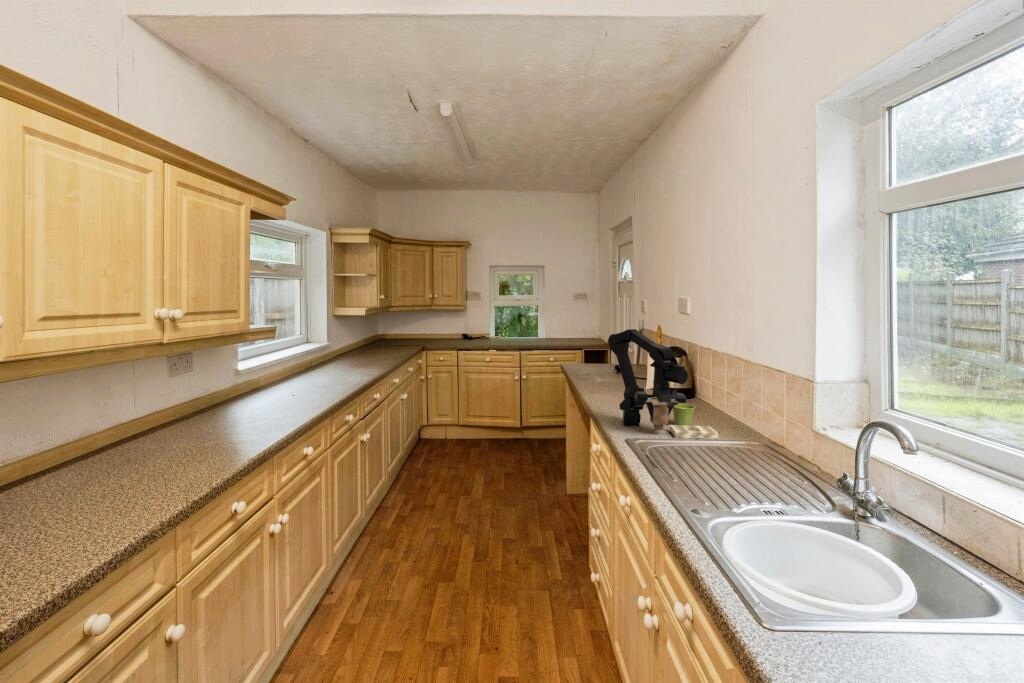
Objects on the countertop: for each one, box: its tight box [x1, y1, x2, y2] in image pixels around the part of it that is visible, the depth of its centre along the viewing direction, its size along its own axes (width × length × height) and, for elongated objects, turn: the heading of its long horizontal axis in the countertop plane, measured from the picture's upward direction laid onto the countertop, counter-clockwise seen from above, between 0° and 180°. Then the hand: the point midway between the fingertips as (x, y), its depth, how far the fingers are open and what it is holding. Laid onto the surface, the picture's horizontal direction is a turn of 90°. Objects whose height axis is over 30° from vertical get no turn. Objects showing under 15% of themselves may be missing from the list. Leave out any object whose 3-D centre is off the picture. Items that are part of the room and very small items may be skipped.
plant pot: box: [672, 402, 696, 426], centre depth 208 cm, size 9×9×9 cm
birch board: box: [668, 424, 719, 439], centre depth 196 cm, size 16×10×2 cm, turn 87°
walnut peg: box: [649, 404, 669, 431], centre depth 196 cm, size 6×6×9 cm
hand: (659, 418), depth 197 cm, fingers closed on walnut peg, 5 cm apart
